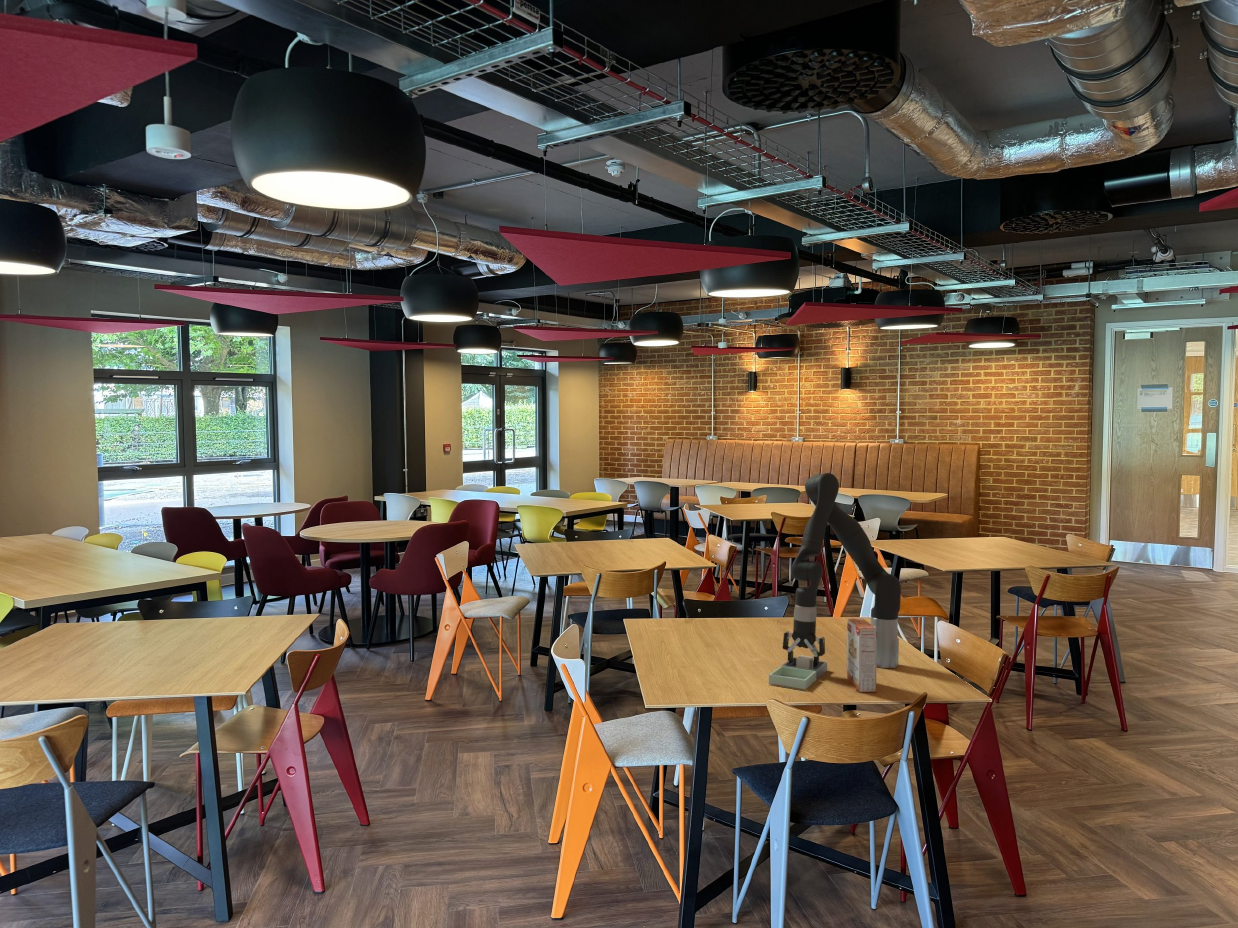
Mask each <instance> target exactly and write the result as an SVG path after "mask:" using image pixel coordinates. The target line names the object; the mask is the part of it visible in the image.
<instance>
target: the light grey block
mask: <svg viewBox="0 0 1238 928" xmlns="http://www.w3.org/2000/svg"><path fill="white" fill-rule="evenodd" d="M795 658H796V667H799V668H806V669H813V660H814V656H809V655H808V656H806V655H802V654H801V655H798V656H797V657H795Z"/></svg>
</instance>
